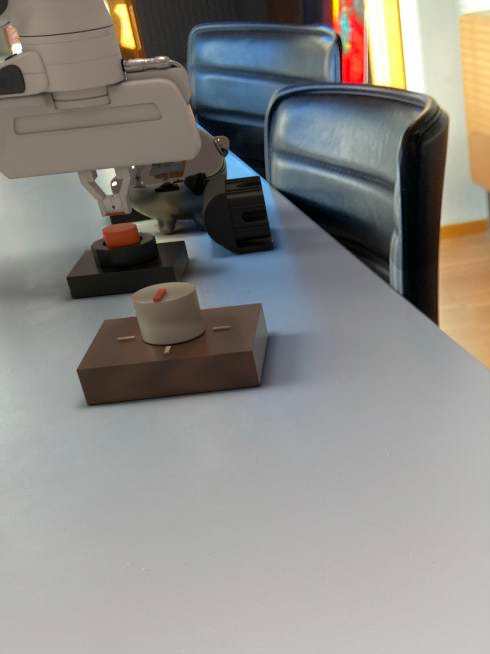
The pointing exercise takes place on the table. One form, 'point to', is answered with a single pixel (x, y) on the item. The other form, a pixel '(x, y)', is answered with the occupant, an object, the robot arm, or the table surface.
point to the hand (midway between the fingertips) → (117, 214)
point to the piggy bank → (176, 184)
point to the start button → (121, 234)
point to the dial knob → (168, 313)
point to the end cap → (236, 214)
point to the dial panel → (175, 358)
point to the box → (127, 267)
